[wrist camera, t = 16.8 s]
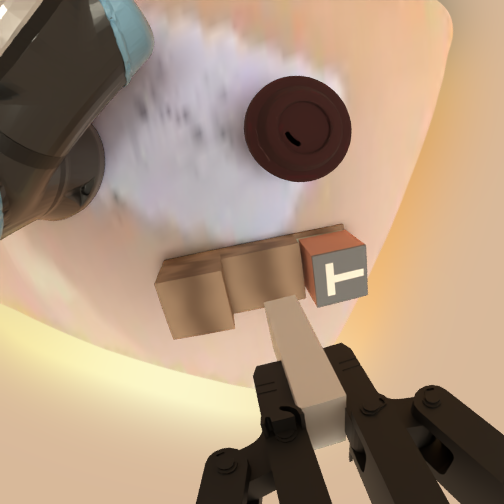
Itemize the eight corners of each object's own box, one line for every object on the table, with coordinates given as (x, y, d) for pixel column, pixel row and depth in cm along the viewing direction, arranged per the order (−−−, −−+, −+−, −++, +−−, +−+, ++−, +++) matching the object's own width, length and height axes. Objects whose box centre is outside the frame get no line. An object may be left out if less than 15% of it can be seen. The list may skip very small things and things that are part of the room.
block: (367, 295, 40) (348, 274, 47) (366, 245, 38) (345, 229, 44) (317, 307, 40) (304, 284, 46) (312, 256, 37) (298, 239, 44)
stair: (179, 309, 46) (173, 339, 39) (164, 260, 44) (154, 284, 36) (346, 274, 47) (367, 297, 40) (342, 223, 44) (365, 240, 37)
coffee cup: (301, 89, 38) (343, 65, 24) (319, 159, 41) (368, 170, 27) (227, 105, 38) (233, 84, 24) (248, 178, 41) (263, 197, 27)
